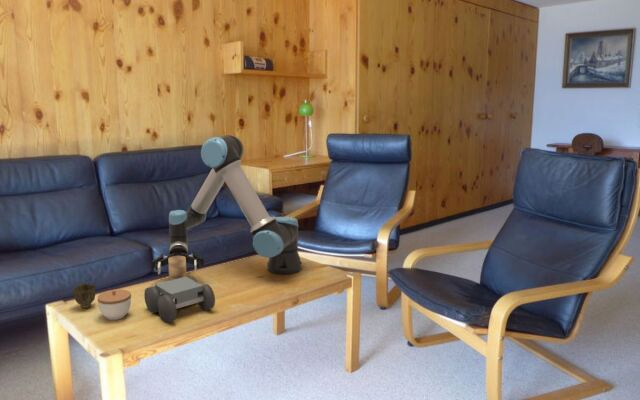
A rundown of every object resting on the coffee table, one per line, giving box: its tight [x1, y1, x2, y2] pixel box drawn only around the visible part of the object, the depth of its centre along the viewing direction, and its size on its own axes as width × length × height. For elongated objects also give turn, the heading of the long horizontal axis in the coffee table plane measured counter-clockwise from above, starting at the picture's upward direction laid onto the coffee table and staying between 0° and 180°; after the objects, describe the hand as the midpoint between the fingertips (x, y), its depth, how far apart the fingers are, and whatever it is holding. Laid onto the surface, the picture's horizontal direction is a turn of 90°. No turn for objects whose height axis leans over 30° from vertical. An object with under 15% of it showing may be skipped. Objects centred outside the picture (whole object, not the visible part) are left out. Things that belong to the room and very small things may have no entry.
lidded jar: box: [96, 288, 132, 321], centre depth 181 cm, size 11×11×9 cm
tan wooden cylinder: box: [168, 256, 187, 281], centre depth 201 cm, size 6×6×14 cm
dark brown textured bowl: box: [72, 282, 97, 310], centre depth 187 cm, size 8×7×8 cm
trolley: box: [143, 276, 216, 323], centre depth 186 cm, size 17×19×10 cm
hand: (177, 269), depth 201 cm, fingers open, 13 cm apart
